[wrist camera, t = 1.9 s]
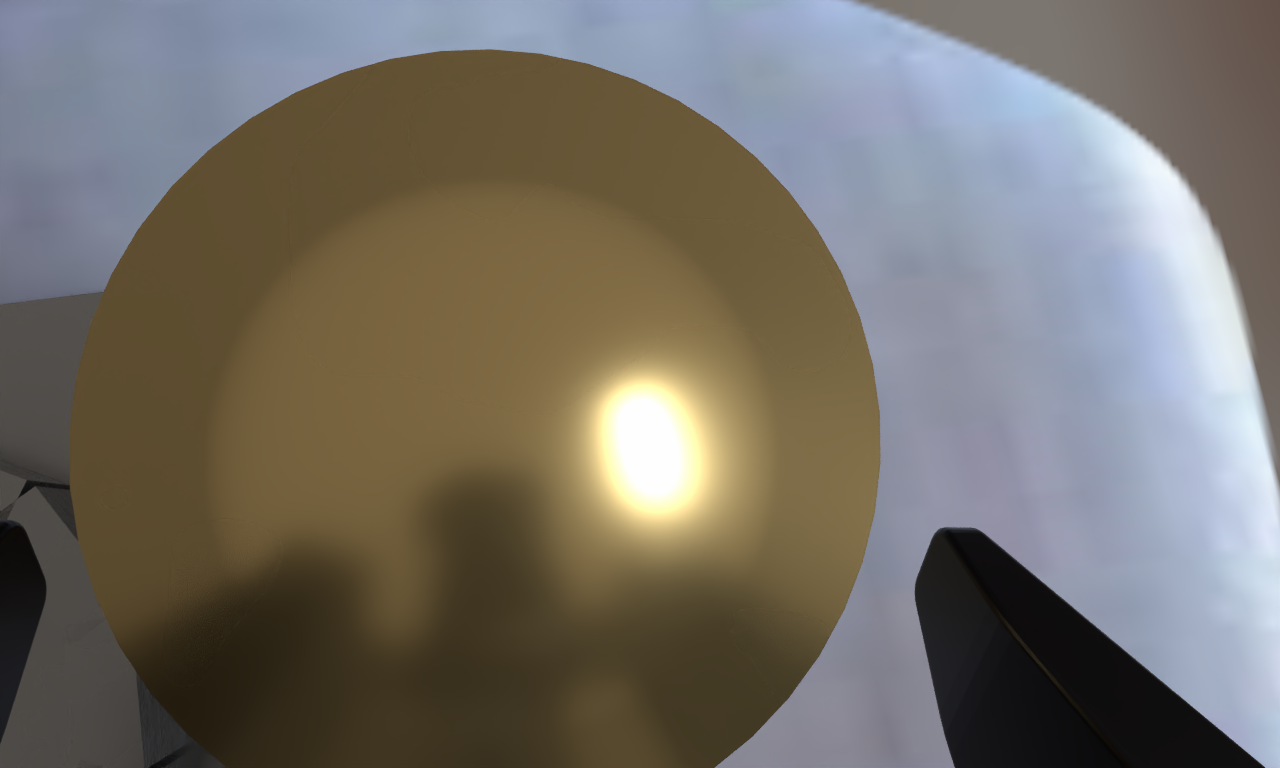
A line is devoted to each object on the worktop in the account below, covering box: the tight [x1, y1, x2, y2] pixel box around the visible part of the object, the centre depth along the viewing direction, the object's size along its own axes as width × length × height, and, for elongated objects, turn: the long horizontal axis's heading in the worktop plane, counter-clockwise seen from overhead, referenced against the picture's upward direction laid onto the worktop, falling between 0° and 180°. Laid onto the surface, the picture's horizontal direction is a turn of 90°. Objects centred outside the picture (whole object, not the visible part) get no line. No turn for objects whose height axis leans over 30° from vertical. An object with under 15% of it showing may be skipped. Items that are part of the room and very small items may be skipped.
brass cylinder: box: [69, 50, 880, 768], centre depth 12 cm, size 5×5×13 cm
